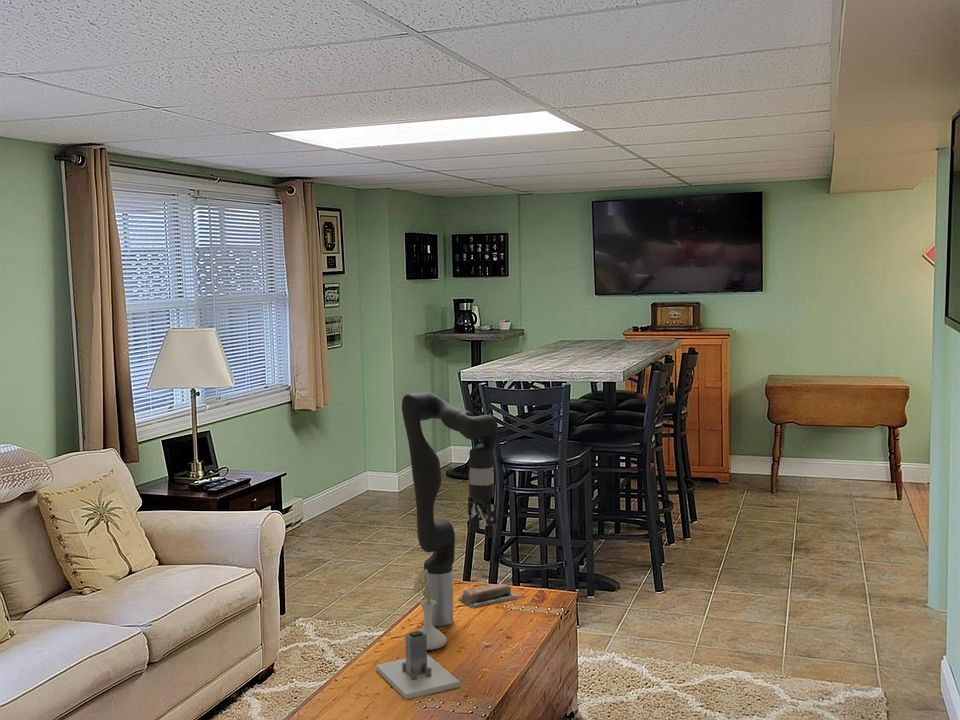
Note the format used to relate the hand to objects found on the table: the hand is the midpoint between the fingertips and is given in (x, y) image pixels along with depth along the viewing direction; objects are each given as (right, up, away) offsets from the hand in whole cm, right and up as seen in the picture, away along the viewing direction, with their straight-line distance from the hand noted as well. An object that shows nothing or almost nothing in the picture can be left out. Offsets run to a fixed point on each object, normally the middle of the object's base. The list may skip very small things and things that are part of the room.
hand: (482, 534), depth 286 cm
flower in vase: (-16, -35, +1) cm, 38 cm away
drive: (-18, -35, -22) cm, 45 cm away
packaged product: (+2, -31, +43) cm, 54 cm away
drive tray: (-18, -36, -22) cm, 46 cm away
